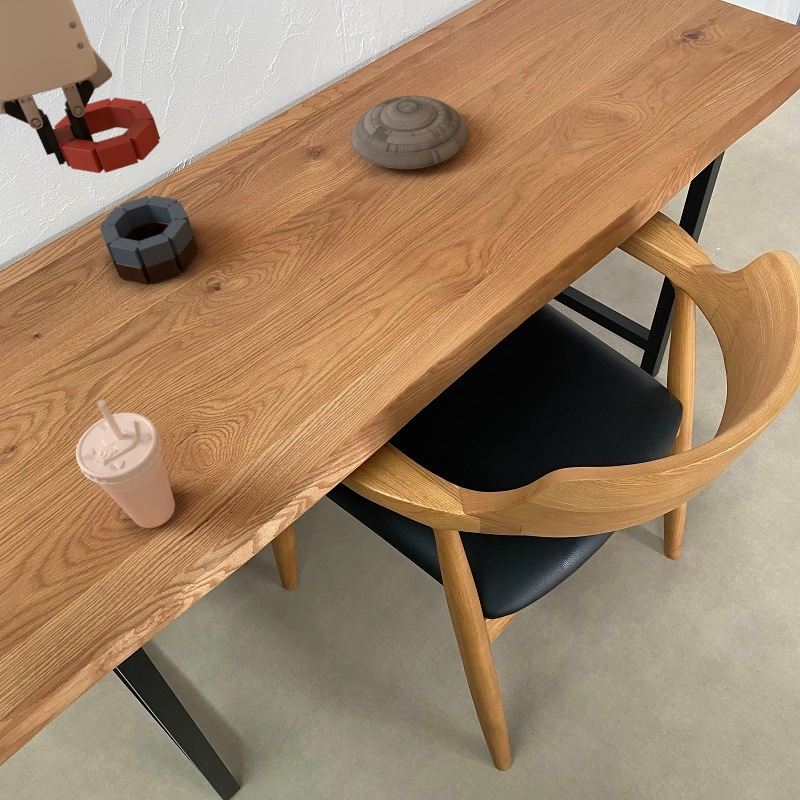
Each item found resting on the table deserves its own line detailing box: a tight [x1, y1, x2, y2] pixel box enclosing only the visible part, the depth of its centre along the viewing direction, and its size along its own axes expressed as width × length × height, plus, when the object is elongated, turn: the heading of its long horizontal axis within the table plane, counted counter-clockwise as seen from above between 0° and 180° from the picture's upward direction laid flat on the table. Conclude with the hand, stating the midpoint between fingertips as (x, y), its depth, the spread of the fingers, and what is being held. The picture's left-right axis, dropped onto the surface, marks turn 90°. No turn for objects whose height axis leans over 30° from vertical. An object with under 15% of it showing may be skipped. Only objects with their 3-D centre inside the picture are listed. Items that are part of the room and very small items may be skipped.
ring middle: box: [99, 195, 194, 268], centre depth 88 cm, size 9×9×2 cm
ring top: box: [53, 97, 161, 174], centre depth 78 cm, size 9×9×2 cm
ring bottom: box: [107, 221, 199, 285], centre depth 90 cm, size 9×9×2 cm
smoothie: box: [75, 399, 176, 529], centre depth 64 cm, size 6×6×14 cm
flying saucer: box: [350, 95, 469, 170], centre depth 100 cm, size 15×15×6 cm
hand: (72, 152), depth 78 cm, fingers closed on ring top, 1 cm apart
